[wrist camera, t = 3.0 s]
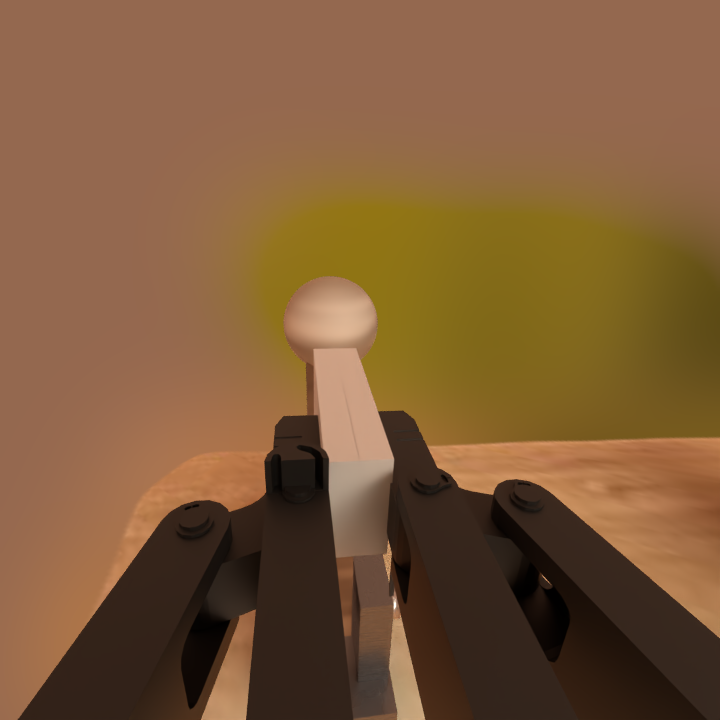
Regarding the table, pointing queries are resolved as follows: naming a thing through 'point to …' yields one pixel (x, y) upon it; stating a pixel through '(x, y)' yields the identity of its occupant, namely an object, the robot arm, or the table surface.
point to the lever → (325, 331)
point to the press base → (371, 640)
